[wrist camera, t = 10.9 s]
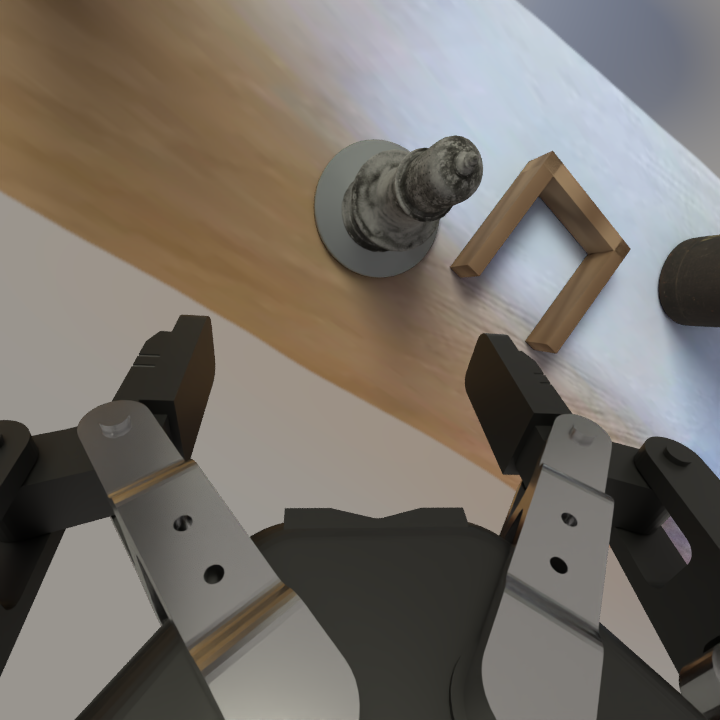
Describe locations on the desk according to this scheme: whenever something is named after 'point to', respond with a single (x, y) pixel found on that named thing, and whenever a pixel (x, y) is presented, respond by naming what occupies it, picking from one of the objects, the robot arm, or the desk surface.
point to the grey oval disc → (331, 222)
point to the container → (692, 282)
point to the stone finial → (409, 193)
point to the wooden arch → (578, 218)
